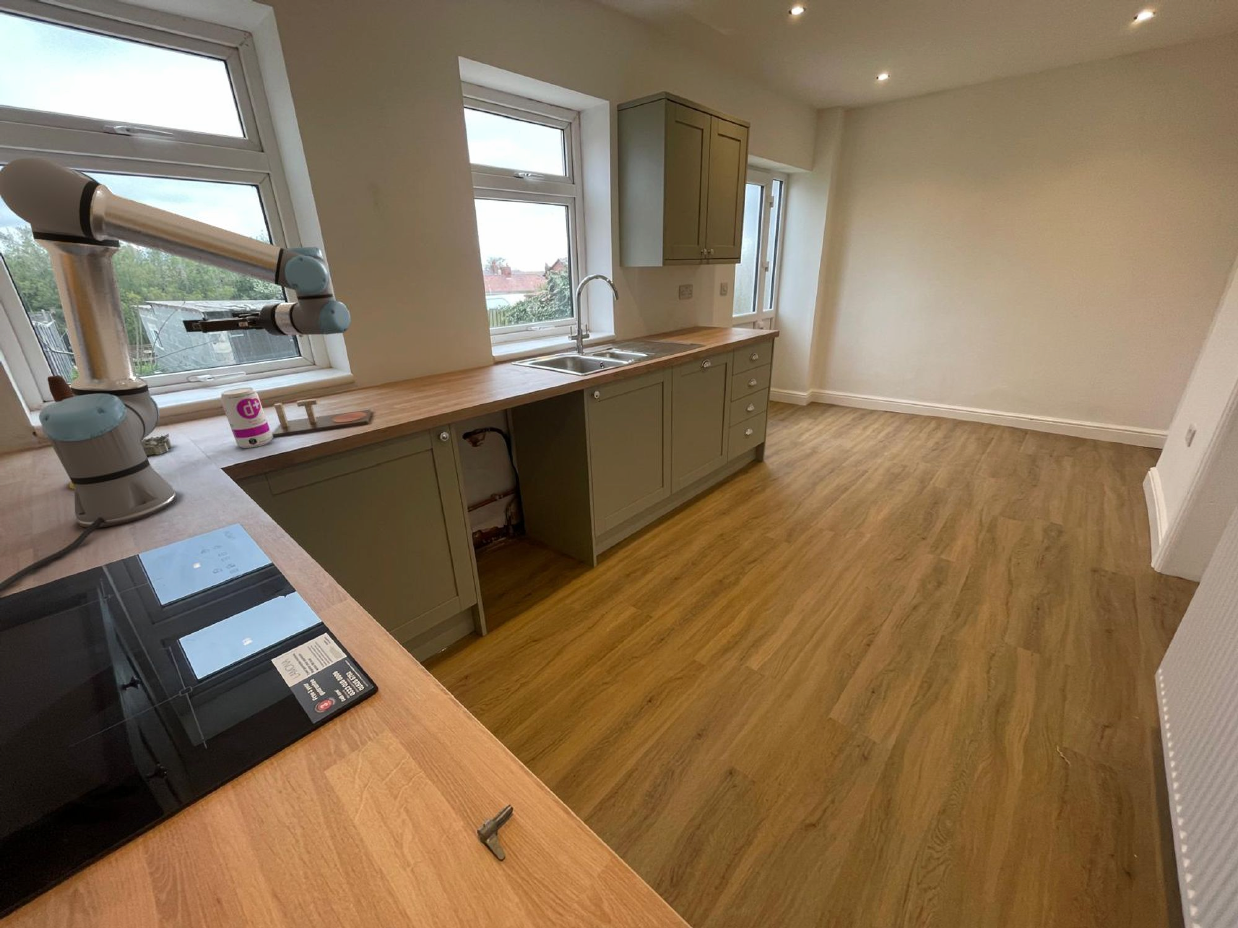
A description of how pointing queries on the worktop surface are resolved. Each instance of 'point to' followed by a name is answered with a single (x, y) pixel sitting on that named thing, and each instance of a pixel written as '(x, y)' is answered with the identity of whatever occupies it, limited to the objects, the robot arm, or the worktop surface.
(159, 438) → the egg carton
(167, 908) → the worktop surface
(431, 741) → the worktop surface
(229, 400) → the supplement can
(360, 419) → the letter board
